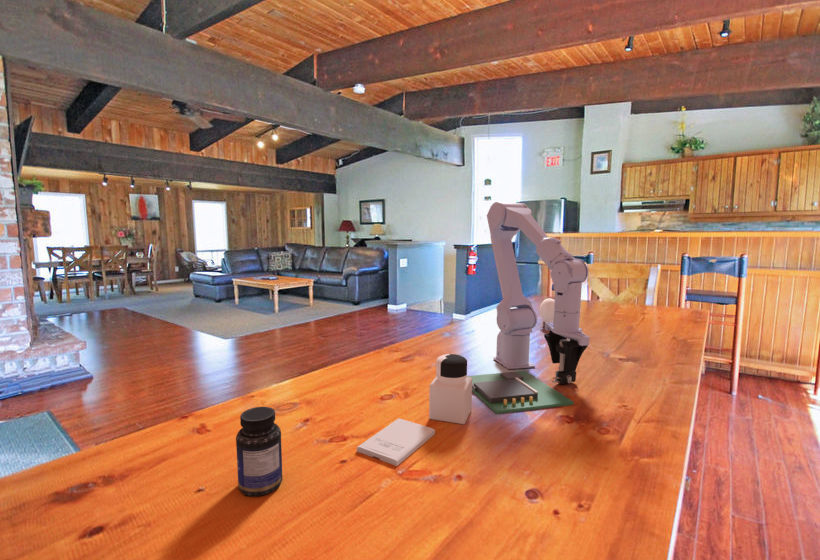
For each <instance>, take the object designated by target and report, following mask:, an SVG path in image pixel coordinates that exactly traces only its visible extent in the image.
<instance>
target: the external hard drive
mask: <svg viewBox="0 0 820 560" xmlns="http://www.w3.org/2000/svg"><path fill="white" fill-rule="evenodd" d="M435 434H436V430H435V429H434V428H432V427H430V426H429V427H428V426H426V425H423V424H419V423H417V422H413V421H409V420H407V419H402V418H397V419H396V420H394V421H392V422H391V423H389V425H387V426H386V427H384V428H383V429H381V430H379V431H378V432H377V433H375V434H373V436H371V437H369V438H368V439H367V440H365V441H364V442H362V443H361V444H360V445H358V446H357V447H356V452H357V453H360V454H363V455H365V456H368V457H371V458H375V459H379V461H381V462H384V463H388V464H390V465H393V466H395V467H398V466H399V465H400V464H402V463H403V462H404V461H405V460H406V459H407V458H409V456H411V455H412V454H413V453H414V452H416V451H417V450H418V449H419V448H420V447H421V446H423V445H424V444H425V443H426V442H427V441H428V440H430V439H431V438H432V437H433V436H435Z"/></svg>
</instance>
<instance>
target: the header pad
mask: <svg viewBox="0 0 820 560" xmlns="http://www.w3.org/2000/svg"><path fill="white" fill-rule="evenodd" d="M474 386H475V387H477V391H478V392H479V393H480V394H481V395H482V396H483V397H484V398H485V399H486V400H487V401H489V402H490V403H491V404H493V403H502V402H504V399H507V402H511V401H512V399H513V398H515V399H516V401H520V400H521V397H524V400H529V397H530V396H532V397H533V399H538V392H537V391H536V390H535V389H533V388H532V387H530V386H529V385H527V384H526V383H524V382H523V381H522V380H520V379H519V378H517V377H516V378H515V379H508V380H498V381H488V382H478V383H474Z"/></svg>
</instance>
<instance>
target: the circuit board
mask: <svg viewBox="0 0 820 560" xmlns="http://www.w3.org/2000/svg"><path fill="white" fill-rule="evenodd" d="M467 377H472V393H474V395H475V396H477V397H478V398H479V399H480V400H481V401H482V402H483V403H484V404H485V405H486V406H487V407H488V408H489V409H491V410H492V411H493V412H494V413H495V414H496V415H498V414H505V413H506V414H507V413H514V412H521V411H522V412H525V411H531V410H539V409H548V408H556V407H565V406H573V405H575V404H574V403H575V401H573V400H572V399H570V398H568V397H567V396H565V395H564V394H562V393H561V392H559V391H557V390H556V389H555V388H553V387H552V386H550V385H548V384H546V383H545V382H543V381H542V380H540V379H539V378H538V377H536V376H534V375H532V374H531V373H530V372H528V371H526V370H520V371H507V372H496V373H488V374H487V373H486V374H475V375H467ZM516 377H517V378H519V379H520V380H522V381H523V382H524V383H526V384H527V385H529V386H530V387H532V388H533V389H535V390H536V391H537V392H538V399H533V397H532V396H530V397H529V400H524V397H521V400H520V401H516V399H515V398H513V399H512V401H511V402H507V399H504V402H502V403H493V404H491V403H490V402H489V401H487V400H486V399H485V398H484V397H483V396H482V395H481V394H480V393H479V392H478V391H477V387H475V386H474V383H478V382H488V381H498V380H508V379H515V378H516Z"/></svg>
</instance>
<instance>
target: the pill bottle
mask: <svg viewBox="0 0 820 560" xmlns="http://www.w3.org/2000/svg"><path fill="white" fill-rule="evenodd" d="M239 419H240V422H239V423H240V426H241V427H242V428H239V430H238V431H237V433H236V436H235V446H236V462H237V463H236V465H237V468H236V469H237V481H238V482H237V484H238V486H237V487H238V490H239V491H240V492H241V493H242V494H243V495H245V496H247V497H261V496H266V495H268V494H270V493H272V492H275V491H276V490H277V489H278V488H279V487H280V485H281V484H282V482H283V455H282V454H283V453H282V449H283V448H282V432H281V431H282V430H281V427H280V426H279V425H278V424H277V423H275V420H276V411H275V409H274V408H272V407H268V406H256V407H252V408H248V409H246V410H244V411H243V412H241V414H240V416H239Z"/></svg>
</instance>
